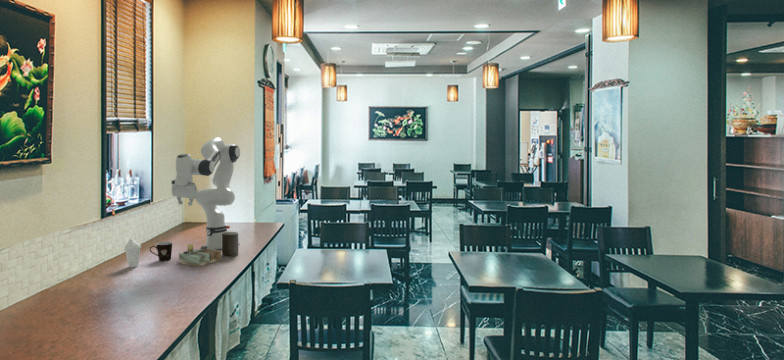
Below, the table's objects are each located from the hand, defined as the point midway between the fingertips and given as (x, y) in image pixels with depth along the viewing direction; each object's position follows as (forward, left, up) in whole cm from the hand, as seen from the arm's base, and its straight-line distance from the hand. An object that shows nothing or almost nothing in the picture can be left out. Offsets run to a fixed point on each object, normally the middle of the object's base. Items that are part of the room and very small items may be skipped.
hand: (185, 204), depth 275 cm
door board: (-2, +10, -33) cm, 35 cm away
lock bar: (-2, +8, -27) cm, 28 cm away
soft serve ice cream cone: (+26, -12, -33) cm, 44 cm away
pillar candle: (-22, +12, -33) cm, 42 cm away
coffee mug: (+8, -12, -33) cm, 36 cm away
